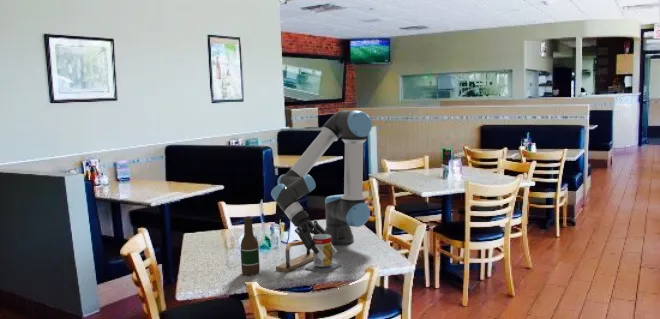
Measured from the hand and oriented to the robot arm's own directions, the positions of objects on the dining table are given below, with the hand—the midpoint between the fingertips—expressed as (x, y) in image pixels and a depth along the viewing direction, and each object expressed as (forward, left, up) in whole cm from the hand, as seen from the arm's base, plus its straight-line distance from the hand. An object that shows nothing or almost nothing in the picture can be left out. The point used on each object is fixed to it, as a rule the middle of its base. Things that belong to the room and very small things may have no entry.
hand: (329, 256), depth 240 cm
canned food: (0, -3, -4) cm, 5 cm away
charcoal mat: (0, -3, -6) cm, 6 cm away
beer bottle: (+20, -26, -6) cm, 34 cm away
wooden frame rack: (0, -16, -6) cm, 17 cm away
